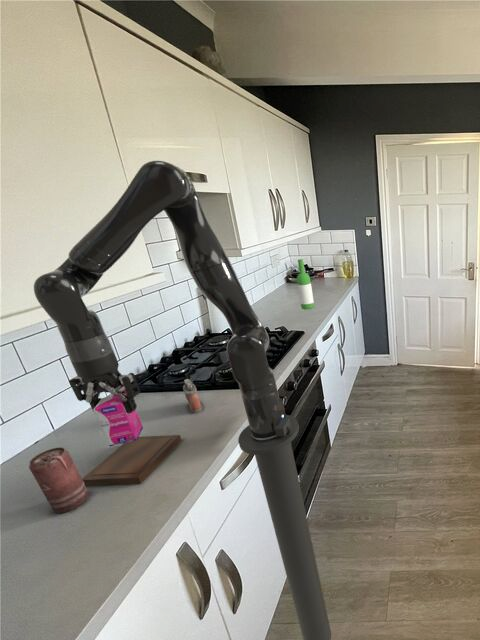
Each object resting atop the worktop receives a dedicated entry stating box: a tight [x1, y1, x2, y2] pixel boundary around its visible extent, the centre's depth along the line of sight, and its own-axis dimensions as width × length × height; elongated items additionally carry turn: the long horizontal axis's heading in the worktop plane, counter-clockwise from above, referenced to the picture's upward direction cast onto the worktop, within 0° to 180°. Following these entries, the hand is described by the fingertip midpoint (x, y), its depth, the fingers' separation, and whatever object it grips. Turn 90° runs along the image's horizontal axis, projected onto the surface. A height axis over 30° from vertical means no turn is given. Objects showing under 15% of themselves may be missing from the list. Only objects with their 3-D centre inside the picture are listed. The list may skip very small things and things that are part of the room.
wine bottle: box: [296, 258, 315, 310], centre depth 210 cm, size 8×8×30 cm
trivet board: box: [82, 434, 182, 487], centre depth 93 cm, size 14×16×2 cm
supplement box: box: [92, 393, 144, 447], centre depth 89 cm, size 6×6×12 cm
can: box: [28, 447, 90, 514], centre depth 79 cm, size 6×6×14 cm
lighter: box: [182, 378, 203, 414], centre depth 115 cm, size 8×3×10 cm, turn 43°
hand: (116, 412), depth 88 cm, fingers closed on supplement box, 7 cm apart
